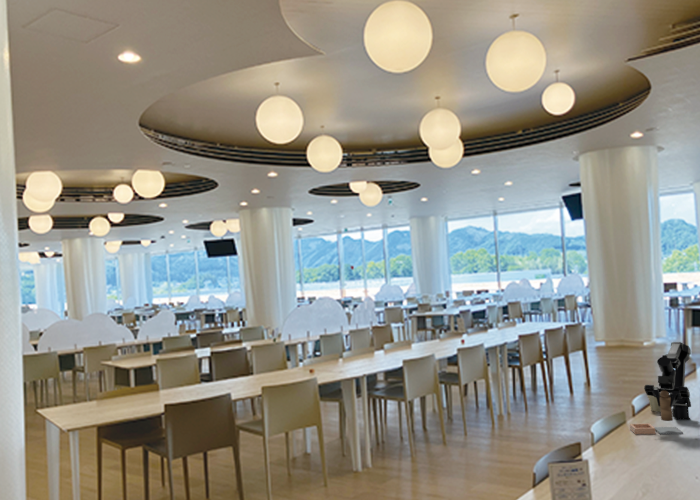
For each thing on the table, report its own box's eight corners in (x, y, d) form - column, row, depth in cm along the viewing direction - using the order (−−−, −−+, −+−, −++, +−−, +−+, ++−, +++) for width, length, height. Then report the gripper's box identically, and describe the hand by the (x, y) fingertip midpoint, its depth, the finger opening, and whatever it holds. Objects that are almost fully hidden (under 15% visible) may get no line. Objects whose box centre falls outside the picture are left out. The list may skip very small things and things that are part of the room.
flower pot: (663, 408, 326) (661, 392, 326) (670, 412, 316) (669, 395, 317) (645, 409, 326) (643, 393, 327) (652, 413, 317) (650, 396, 318)
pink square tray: (649, 428, 287) (649, 423, 287) (655, 433, 279) (655, 428, 279) (629, 429, 289) (629, 423, 289) (635, 433, 280) (634, 428, 280)
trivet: (675, 428, 285) (675, 426, 285) (683, 434, 275) (683, 432, 275) (653, 428, 287) (653, 427, 287) (660, 434, 277) (659, 432, 277)
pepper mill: (668, 418, 284) (665, 389, 284) (675, 420, 279) (672, 390, 280) (659, 419, 283) (656, 389, 284) (665, 421, 279) (662, 391, 279)
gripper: (643, 368, 291) (639, 395, 282) (686, 369, 279) (683, 398, 270) (649, 381, 297) (645, 408, 288) (691, 383, 285) (688, 411, 276)
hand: (665, 406), depth 280 cm, fingers closed on pepper mill, 5 cm apart
